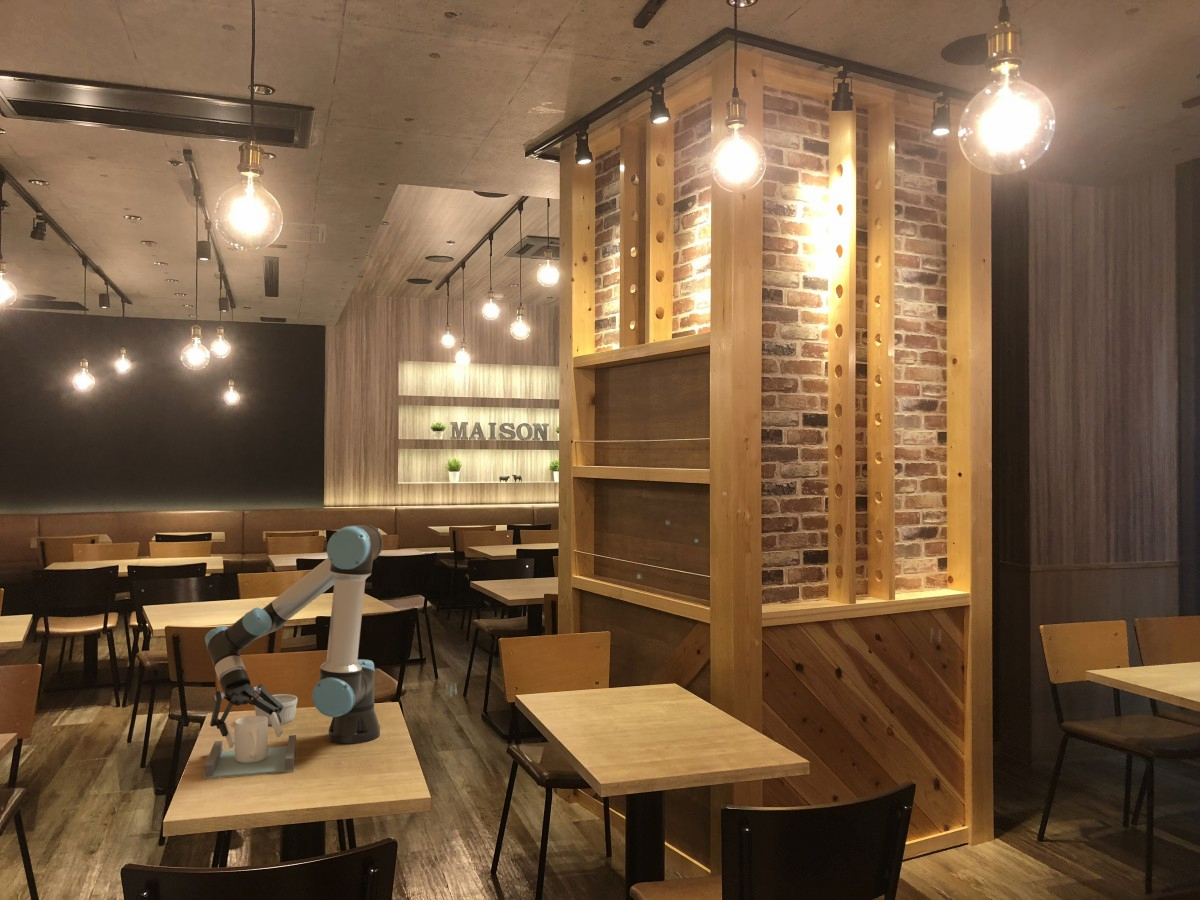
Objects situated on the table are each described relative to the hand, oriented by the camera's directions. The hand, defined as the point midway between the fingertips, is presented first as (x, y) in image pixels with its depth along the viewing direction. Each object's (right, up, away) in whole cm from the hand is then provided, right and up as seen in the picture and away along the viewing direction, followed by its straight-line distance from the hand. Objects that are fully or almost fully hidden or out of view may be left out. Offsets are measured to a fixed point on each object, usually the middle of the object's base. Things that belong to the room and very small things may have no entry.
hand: (256, 739), depth 255 cm
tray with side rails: (-2, -7, +2) cm, 7 cm away
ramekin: (-10, -8, +43) cm, 45 cm away
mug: (-2, -6, +1) cm, 7 cm away
